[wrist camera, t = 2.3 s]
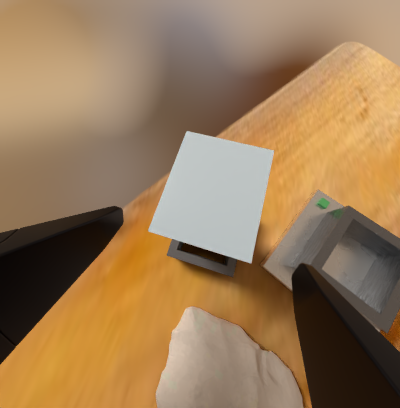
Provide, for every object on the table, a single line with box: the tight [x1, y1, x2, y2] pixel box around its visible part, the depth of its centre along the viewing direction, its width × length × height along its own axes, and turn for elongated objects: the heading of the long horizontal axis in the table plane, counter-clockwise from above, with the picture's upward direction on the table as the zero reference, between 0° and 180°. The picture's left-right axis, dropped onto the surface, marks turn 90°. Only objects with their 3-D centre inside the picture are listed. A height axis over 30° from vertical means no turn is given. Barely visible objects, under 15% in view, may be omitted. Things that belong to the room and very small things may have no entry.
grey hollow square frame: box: [167, 239, 237, 277], centre depth 16 cm, size 7×6×2 cm
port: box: [260, 190, 400, 333], centre depth 14 cm, size 10×10×4 cm
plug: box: [148, 131, 274, 263], centre depth 11 cm, size 4×3×12 cm
